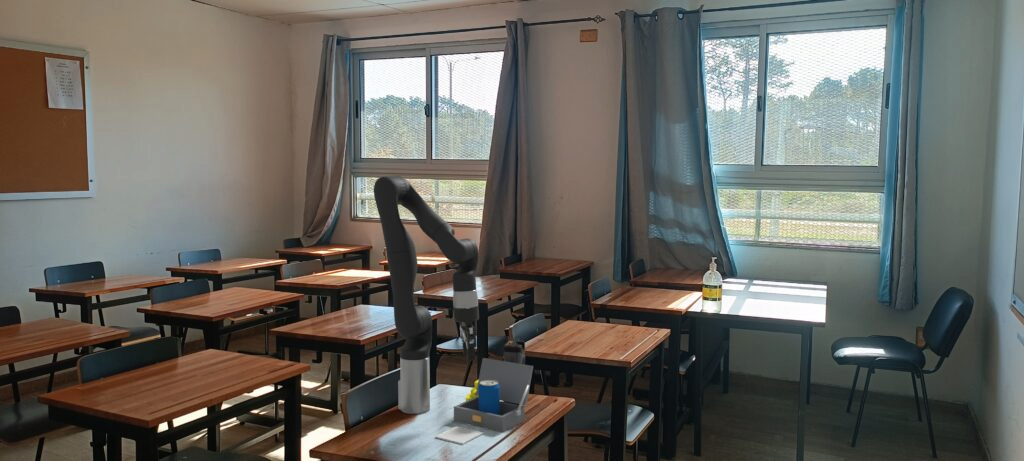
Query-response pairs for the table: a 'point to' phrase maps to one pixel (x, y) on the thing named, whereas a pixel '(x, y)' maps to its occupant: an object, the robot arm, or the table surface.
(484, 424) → the case
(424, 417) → the table surface
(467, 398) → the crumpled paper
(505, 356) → the electronic device
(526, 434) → the table surface
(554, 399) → the table surface
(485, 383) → the beverage can
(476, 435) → the pad
